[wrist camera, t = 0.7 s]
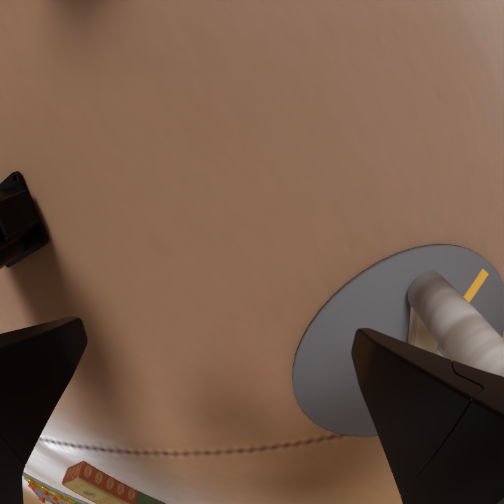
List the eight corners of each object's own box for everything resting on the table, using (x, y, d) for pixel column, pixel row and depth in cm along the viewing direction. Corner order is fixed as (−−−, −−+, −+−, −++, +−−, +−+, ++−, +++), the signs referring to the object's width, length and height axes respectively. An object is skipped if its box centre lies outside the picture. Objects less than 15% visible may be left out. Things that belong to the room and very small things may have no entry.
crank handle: (435, 377, 24) (490, 486, 12) (388, 391, 25) (431, 512, 13) (452, 255, 20) (570, 364, 8) (395, 268, 20) (500, 407, 8)
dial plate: (323, 452, 30) (324, 457, 29) (253, 304, 23) (253, 309, 22) (492, 382, 27) (494, 386, 26) (504, 208, 19) (509, 210, 19)
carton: (84, 458, 35) (75, 479, 31) (168, 502, 39) (164, 522, 35) (68, 466, 37) (60, 485, 33) (143, 507, 41) (139, 525, 37)
